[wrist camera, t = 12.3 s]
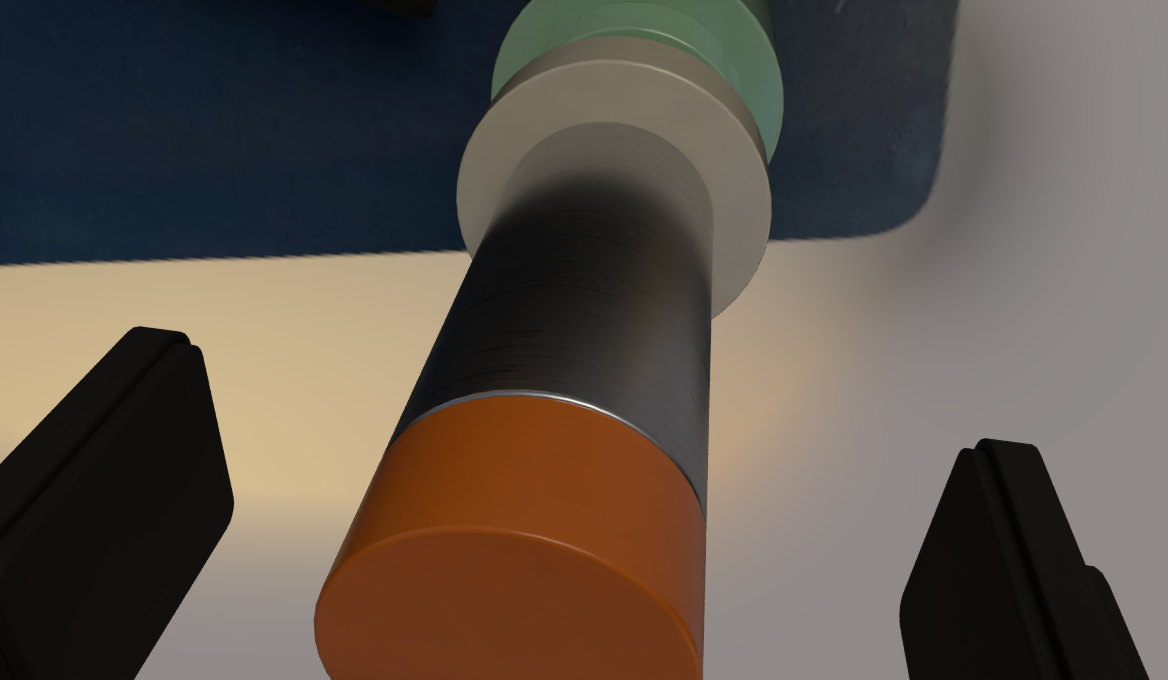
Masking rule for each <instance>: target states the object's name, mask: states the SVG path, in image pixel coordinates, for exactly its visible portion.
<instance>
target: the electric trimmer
mask: <svg viewBox="0 0 1168 680" xmlns="http://www.w3.org/2000/svg"><path fill="white" fill-rule="evenodd" d="M355 1H358V2H361V3H365V4H368V5H371V6H374V7H377V8H380V9H384V10H387V11H390V12H393V13H396V14H399V15H402V16H406V17H411V18H416V19H427V18H430V16H431V14H432V12H433V10H434V7H435V5H436V0H355Z"/></svg>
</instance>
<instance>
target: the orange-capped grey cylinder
mask: <svg viewBox="0 0 1168 680" xmlns="http://www.w3.org/2000/svg"><path fill="white" fill-rule="evenodd" d="M713 227H714V221H713V209H712V204H711V199H710V196H709V193H708V190H707V188H706V185H705V183H704V181H703V179H702V178H701V176H700V174H699V172H698V171H697V170H696V168H695V167H694V165H693V164H692V163H691V162H690V161H689V159H688V158H687V157H686V156H685V155H684V154H683V153H682V152H681V151H679V150H678V149H677V148H676V147H675V146H673V145H672V144H671V143H669V142H668V141H666V140H664V139H663V138H661V137H659V136H658V135H656V134H653V133H651V132H649V131H647V130H644V129H641V128H638V127H635V126H631V125H626V124H621V123H612V122H595V123H585V124H580V125H576V126H572V127H569V128H566V129H563V130H560V131H558V132H556V133H554V134H552V135H550V136H548V137H546V138H545V139H544V140H542V141H541V142H539V143H538V144H537V145H535V146H534V147H533V148H532V149H531V150H530V151H529V152H528V153H527V154H526V155H525V156H524V157H523V159H522V160H521V161H520V162H519V164H518V165H517V167H516V169H515V170H514V172H513V174H512V176H511V178H510V180H509V182H508V184H507V186H506V189H505V191H504V193H503V195H502V197H501V199H500V202H499V204H498V206H497V208H496V210H495V213H494V215H493V217H492V219H491V221H490V223H489V226H488V228H487V230H486V232H485V234H484V237H483V239H482V241H481V243H480V245H479V247H478V250H477V252H476V254H475V256H474V258H473V260H472V263H471V265H470V267H469V269H468V271H467V274H466V276H465V278H464V280H463V282H462V285H461V287H460V289H459V291H458V293H457V295H456V298H455V300H454V302H453V304H452V307H451V309H450V311H449V313H448V315H447V317H446V319H445V321H444V324H443V326H442V328H441V330H440V332H439V335H438V337H437V339H436V341H435V343H434V346H433V348H432V350H431V352H430V354H429V356H428V359H427V361H426V363H425V365H424V367H423V369H422V372H421V374H420V376H419V378H418V380H417V382H416V385H415V387H414V389H413V391H412V393H411V396H410V398H409V400H408V402H407V405H406V406H405V409H404V411H403V413H402V415H401V417H400V420H399V422H398V424H397V426H396V428H395V431H394V433H393V435H392V437H391V439H390V441H389V443H388V446H387V448H386V450H385V452H384V454H383V457H382V460H381V461H380V463H379V465H378V467H377V470H376V472H375V474H374V476H373V478H372V481H371V483H370V485H369V487H368V489H367V491H366V494H365V496H364V498H363V500H362V502H361V504H360V507H359V509H358V511H357V513H356V516H355V518H354V520H353V522H352V524H351V526H350V529H349V531H348V533H347V535H346V537H345V539H344V542H343V544H342V546H341V548H340V550H339V552H338V555H337V557H336V559H335V561H334V563H333V565H332V568H331V570H330V572H329V574H328V576H327V579H326V581H325V583H324V585H323V587H322V590H321V592H320V595H319V598H318V600H317V603H316V608H315V615H314V631H315V642H316V646H317V650H318V654H319V657H320V659H321V661H322V663H323V665H324V668H325V670H326V672H327V674H328V675H329V677H330V678H331V680H703V646H704V645H703V644H704V606H705V602H704V601H705V564H706V560H705V559H706V521H707V519H706V518H707V480H708V477H707V476H708V437H709V394H710V391H709V390H710V353H711V352H710V351H711V312H712V269H713Z"/></svg>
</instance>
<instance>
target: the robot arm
mask: <svg viewBox="0 0 1168 680" xmlns="http://www.w3.org/2000/svg"><path fill="white" fill-rule="evenodd" d="M233 509H234V498H233V492H232V488H231V483H230V478H229V473H228V469H227V464H226V460H225V455H224V450H223V446H222V442H221V437H220V432H219V427H218V423H217V418H216V413H215V409H214V404H213V399H212V395H211V390H210V386H209V381H208V376H207V372H206V367H205V363H204V358H203V355H202V351H201V349H200V348H199V347H198V346H195V345H191V343H190V340H189V338H188V337H187V335H186V334H185V333H182V332H179V331H171V330H164V329H156V328H148V327H141V326H139V327H134V328H132V329H131V330H129V331H128V332H127V333H126V334H125V335H124V336H123V337H122V338H121V339H120V340H119V341H118V342H117V343H116V344H115V346H114V347H112V349H111V350H110V351H109V352H108V353H107V354H106V355H105V356H104V357H103V358H102V359H101V360H100V361H99V362H98V363H97V364H96V365H95V366H94V367H93V368H92V369H91V370H90V372H89V373H87V374H86V376H85V377H84V378H83V379H82V380H81V381H80V382H79V383H78V384H77V385H76V386H75V387H74V388H73V389H72V390H71V391H70V392H69V393H68V394H67V395H66V396H65V397H64V398H63V399H62V400H61V401H60V403H58V405H57V406H56V407H55V408H54V409H53V410H52V411H51V412H50V413H49V414H48V415H47V416H46V417H45V418H44V419H43V420H42V421H41V422H40V423H39V424H38V425H37V426H36V427H35V429H33V430H32V431H31V433H30V434H29V435H28V436H27V437H26V438H25V439H24V440H23V441H22V442H21V443H20V444H19V445H18V446H17V447H16V448H15V449H14V450H13V451H12V452H11V453H10V454H9V455H8V456H7V457H6V458H5V459H4V460H3V462H2V463H1V464H0V680H134V679H135V677H136V675H137V674H138V672H139V671H140V669H141V667H142V666H143V664H144V663H145V661H146V659H147V658H148V656H149V654H150V653H151V651H152V649H153V648H154V646H155V645H156V643H157V641H158V640H159V638H160V636H161V635H162V633H163V632H164V630H165V628H166V627H167V625H168V623H169V622H170V620H171V619H172V617H173V615H174V614H175V612H176V610H177V609H178V607H179V605H180V604H181V602H182V601H183V599H184V597H185V596H186V594H187V593H188V591H189V589H190V587H191V586H192V584H193V583H194V581H195V579H196V578H197V576H198V575H199V573H200V571H201V569H202V568H203V566H204V565H205V563H206V562H207V560H208V558H209V557H210V555H211V553H212V552H213V550H214V548H215V547H216V545H217V544H218V542H219V540H220V539H221V537H222V536H223V534H224V532H225V531H226V529H227V527H228V525H229V523H230V521H231V518H232V514H233ZM899 616H900V629H901V634H902V640H903V646H904V651H905V656H906V663H907V668H908V673H909V678H910V680H1149V677H1148V675H1147V673H1146V670H1145V668H1144V666H1143V663H1142V661H1141V659H1140V656H1139V654H1138V651H1137V649H1136V647H1135V645H1134V642H1133V640H1132V638H1131V635H1130V633H1129V631H1128V628H1127V626H1126V623H1125V621H1124V619H1123V616H1122V614H1121V611H1120V609H1119V607H1118V604H1117V602H1116V600H1115V597H1114V595H1113V593H1112V590H1111V588H1110V586H1109V584H1108V582H1107V580H1106V579H1105V577H1104V575H1103V574H1102V572H1100V571H1099V570H1098V569H1097V568H1095V567H1094V566H1088V565H1085V562H1084V560H1083V557H1082V555H1081V552H1080V550H1079V548H1078V545H1077V543H1076V540H1075V538H1074V535H1073V533H1072V530H1071V528H1070V525H1069V523H1068V520H1067V518H1066V516H1065V513H1064V511H1063V508H1062V506H1061V503H1060V501H1059V498H1058V496H1057V494H1056V491H1055V489H1054V486H1053V484H1052V481H1051V479H1050V476H1049V474H1048V471H1047V469H1046V467H1045V464H1044V462H1043V459H1042V457H1041V454H1040V452H1039V451H1038V449H1037V447H1035V446H1034V445H1032V444H1025V443H1017V442H1010V441H1002V440H995V439H988V438H984V439H981V440H980V441H979V442H978V443H977V445H976V447H975V449H970V448H963V449H962V450H961V451H960V452H959V454H958V456H957V459H956V461H955V464H954V466H953V469H952V471H951V474H950V476H949V479H948V481H947V484H946V487H945V489H944V491H943V494H942V497H941V499H940V502H939V504H938V507H937V509H936V512H935V514H934V517H933V519H932V522H931V524H930V527H929V529H928V532H927V534H926V537H925V539H924V542H923V545H922V547H921V549H920V552H919V555H918V557H917V560H916V562H915V565H914V567H913V570H912V572H911V575H910V577H909V580H908V583H907V585H906V587H905V590H904V592H903V595H902V599H901V604H900V615H899Z"/></svg>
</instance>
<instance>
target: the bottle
mask: <svg viewBox="0 0 1168 680" xmlns="http://www.w3.org/2000/svg"><path fill="white" fill-rule="evenodd" d="M783 112H784V90H783V84H782V77H781V70H780V64H779V57H778V50H777V44H776V37H775V31H774V24H773V17H772V11H771V4H770V0H528V1H527V3H526V4H525V6H524V7H523V9H522V10H521V12H520V13H519V14H518V16H517V17H516V19H515V20H514V22H513V23H512V25H511V27H510V28H509V30H508V32H507V34H506V36H505V38H504V40H503V42H502V44H501V47H500V50H499V53H498V55H497V58H496V62H495V66H494V71H493V76H492V85H491V103H490V105H489V107H488V108H487V110H486V112H485V113H484V115H483V117H482V118H481V120H480V122H479V123H478V125H477V127H476V129H475V130H474V132H473V134H472V136H471V138H470V140H469V142H468V144H467V146H466V149H465V152H464V154H463V157H462V160H461V164H460V169H459V174H458V179H457V193H456V202H457V214H458V220H459V225H460V229H461V233H462V237H463V239H464V242H465V245H466V247H467V250H468V253H469V255H470V257H471V258H472V260H473V258H474V256H475V254H476V252H477V250H478V247H479V245H480V243H481V241H482V239H483V237H484V234H485V232H486V230H487V228H488V226H489V223H490V221H491V219H492V217H493V215H494V213H495V210H496V208H497V206H498V204H499V202H500V199H501V197H502V195H503V193H504V191H505V189H506V186H507V184H508V182H509V180H510V178H511V176H512V174H513V172H514V170H515V169H516V167H517V165H518V164H519V162H520V161H521V160H522V159H523V157H524V156H525V155H526V154H527V153H528V152H529V151H530V150H531V149H532V148H533V147H534V146H535V145H537V144H538V143H539V142H541V141H542V140H544V139H545V138H546V137H548V136H550V135H552V134H554V133H556V132H558V131H560V130H563V129H566V128H569V127H572V126H576V125H580V124H585V123H595V122H612V123H621V124H626V125H631V126H635V127H638V128H641V129H644V130H647V131H649V132H651V133H653V134H656V135H658V136H659V137H661V138H663V139H664V140H666V141H668V142H669V143H671V144H672V145H673V146H675V147H676V148H677V149H678V150H679V151H681V152H682V153H683V154H684V155H685V156H686V157H687V158H688V159H689V161H690V162H691V163H692V164H693V165H694V167H695V168H696V170H697V171H698V172H699V174H700V176H701V178H702V179H703V181H704V183H705V185H706V188H707V190H708V193H709V196H710V199H711V204H712V209H713V221H714V227H713V269H712V312H711V320H712V319H713V318H714V317H716V316H717V315H719V314H720V313H721V312H722V311H724V310H725V309H726V308H727V307H728V306H729V305H730V304H731V303H732V302H733V301H734V300H735V299H736V298H737V297H738V296H739V294H740V293H741V292H742V291H743V290H744V288H745V287H746V286H747V285H748V283H749V282H750V280H751V278H752V277H753V275H754V273H755V272H756V270H757V268H758V266H759V264H760V261H761V259H762V257H763V254H764V252H765V248H766V245H767V241H768V238H769V233H770V225H771V217H772V210H771V189H770V178H769V168H768V165H769V163H770V161H771V159H772V156H773V154H774V151H775V149H776V147H777V143H778V139H779V136H780V132H781V128H782V120H783Z"/></svg>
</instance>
